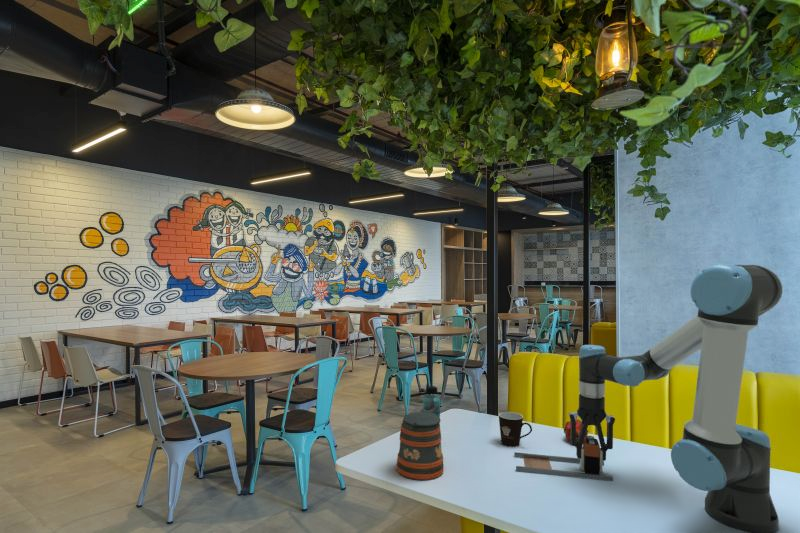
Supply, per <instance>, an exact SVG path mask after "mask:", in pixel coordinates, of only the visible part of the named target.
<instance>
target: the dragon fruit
mask: <svg viewBox="0 0 800 533" xmlns="http://www.w3.org/2000/svg"><path fill="white" fill-rule="evenodd" d="M575 421H576V442H577V439H578V435H579V432H580V428H581V423H582V420H581V419H579V418H577V420H575ZM570 425H571V420H570V421H567V422H565V424H564V429H563V433H564V435H565V438H566V439H568V441H569V442H570ZM587 436H589V429H587V430H586V433H585V437H584V438H587Z"/></svg>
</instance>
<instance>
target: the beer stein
mask: <svg viewBox="0 0 800 533" xmlns="http://www.w3.org/2000/svg"><path fill="white" fill-rule="evenodd" d="M438 409H439V406H434V398H430V399H429V400H428V402H427V406H425V407H424V408H423V407H422V408H421V410H420V411H415V412H410V413H408V414H405V415H404V416H403V419H402V422H401V424H400V433H399V441H400V442H399V451H398V453H397V458H396V467H395V468H396V472H398V474H400V475H401V476H403V477H404V478H407V479H410V480H417V481H425V480H427V481H429V480H433V479H436V478H439V477H441V476H442V475H443V473H444V470H445V468H444V455H443V453H442V452H443V450H442V433H441V431H442V430H441V418H439V417H438V416H437V415H435V412H436V411H437V410H438ZM439 423H440V424H439Z"/></svg>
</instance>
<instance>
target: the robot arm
mask: <svg viewBox="0 0 800 533" xmlns="http://www.w3.org/2000/svg"><path fill="white" fill-rule="evenodd" d="M782 295H783V285H782V281H781V279H780V277H778V275H777V274H775V272H773V271H772V270H771V269H769V268H767V267H764V266H761V265H757V264H756V265H755V264H732V263H722V264H714V265H710V266H707V267H706V268H703V270H701V271H699V273H697V275H696V276H695V277H694V278H693V280H692V282H691V286H690V296H691V297H690V298H691V300H692V302H694V305H695V307H696V308H697V309H698V310H697V314H696V315H695V316H693V317H692V318H690V319H689V320H688V321H687V322H685V323H684V324H683V325H681V326H680V327H678V328H677V329H675V330H673V332H671V333H670V334H669V335H667V336H666V337H664V338H663V339H662V340H660V341H659V342H658V343H657V344H655V345H654V346H652V347H651V348H650V349H648V350H647V351H645V352H644V353H642V354H641V355H632V356H631V355H629V356H621V357H620V356H614V355H609V354H607V353H606V348H605V347H604V346H602V345H597V344H596V345H595V344H584V345H580V348H579V355H578V367H579V369H578V372H579V373H578V374H579V376H578V378H579V379H578V393H579V394H578V409H577V410H576V411H574V412H571V411H570V412H569V413H568V416H569V419H570V420H571V425H570V441H569V443H570V444H571V446H572V447H575V448H576V452H575V453H576V455H575V456H576V458H580V463H579V468H580V471H584V448H583V441H584V437H585V433H586V430H588V429H589V428H588V427H589V426H595V428H596V429H595V430H596V434H597V438H598V443H599V446H600V473H603V461H604V462H606V460H607V451H608V450H613V447H614V441H613V440H614V424H615V422H616V418H615V417H614V415H612V414H611V415H609V414H607V412H606V410H605V409H606V408H605V407H606V406H605V405H606V399H605V396H606V386H605V385H606V381H609V382H613V383H615V384H619V385H621V386H625V387H626V386H628V387H638V386H640V384H642V382H644V381H651V380H653V381H656V380H659V379H662V378H666V377H667V376H668V375H669V374H670V371H671V369H673V368H674V367H676V366H677V365H679V364H680V363H681V362H683V361H685V360H686V359H688V358H689V357H691V356H692V355H694V354H696V353H697V352H698V351H700V355H699V363H698V372H697V379H696V387H695V396H694V401H693V402H694V404H693V411H692V419H690V420H688V421H686V422H685V423H684V425H683V430H682V432H683V433H682V439H680V440H678V441H676V442H675V443H674V444H673V445H672V447H671V451H670V459H671V463H672V465H673V468H674V469H675V471H676V472H677V473H678V475H679V477H680V478H681V479H682V480H683V481H684V482H685V483H686V484H688V485H689V486H691V487H693V488H695V489H697V490H698V491H699V490H700V491H703V492H707V493H706V496H705V498H704V511H705V512H706V513H707V514H708V515H709V516H711V518H714V519H715V520H717V521H718V522H720V523H722V524H724V525H726V526H729V527H732V528H735V529H738V530H740V531H741V530H742V531H746V532H750V533H776V532H777V531H779V525H780V524H779V516H778V513H777V510H776V507H775V504H774V502H773V499H772V496H771V492H770V491H771V490H770V489H771V486H770V484H771V451H772V447H771V439H770V437H769V435H768V434H767V433H766V432H764V431H762V430H759V429H756V428H754V427H751V426H750V427H749V426H747V425H742V424H738V423H737V418H738V412H739V402H740V395H741V390H742V381H743V374H744V372H743V371H744V366H745V359H746V351H747V342H748V335H749V332H750V331H751V330H753V329H755V328H756V327H757V326H758V323H759V319H760V318H759V317H760V316H762V315H764V314H766V313H767V312H769V311H770V310H771V309H773V308H775V306H776V305H777V304H778V303H779V302H780V300H781V298H782ZM578 417H579V418H580V420H581V421H582V423H581V428H580V432H579V435H578V439H577V442H576V421H575V420H577V419H578ZM604 420H605V421H606V441H605V437H604V432H603V428H602V422H603V421H604Z"/></svg>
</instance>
